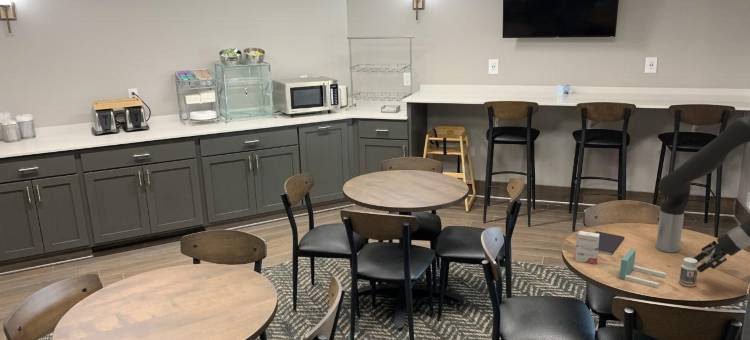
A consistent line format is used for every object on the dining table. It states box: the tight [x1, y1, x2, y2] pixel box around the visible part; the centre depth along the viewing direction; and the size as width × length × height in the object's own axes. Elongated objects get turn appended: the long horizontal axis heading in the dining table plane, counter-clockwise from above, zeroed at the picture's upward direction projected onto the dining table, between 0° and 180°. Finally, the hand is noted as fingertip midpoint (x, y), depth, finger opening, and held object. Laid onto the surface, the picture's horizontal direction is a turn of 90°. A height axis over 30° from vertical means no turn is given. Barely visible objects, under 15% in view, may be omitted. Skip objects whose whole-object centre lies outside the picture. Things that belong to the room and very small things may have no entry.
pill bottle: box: [678, 257, 699, 288], centre depth 226 cm, size 6×6×10 cm
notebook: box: [594, 230, 625, 256], centre depth 265 cm, size 13×2×21 cm
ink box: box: [574, 230, 600, 265], centre depth 248 cm, size 9×5×12 cm, turn 65°
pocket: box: [619, 248, 667, 289], centre depth 232 cm, size 14×12×8 cm
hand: (696, 265), depth 225 cm, fingers open, 8 cm apart
